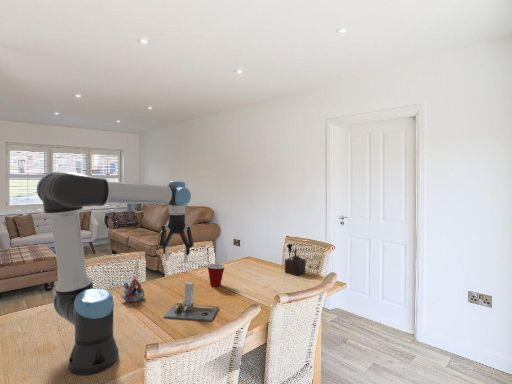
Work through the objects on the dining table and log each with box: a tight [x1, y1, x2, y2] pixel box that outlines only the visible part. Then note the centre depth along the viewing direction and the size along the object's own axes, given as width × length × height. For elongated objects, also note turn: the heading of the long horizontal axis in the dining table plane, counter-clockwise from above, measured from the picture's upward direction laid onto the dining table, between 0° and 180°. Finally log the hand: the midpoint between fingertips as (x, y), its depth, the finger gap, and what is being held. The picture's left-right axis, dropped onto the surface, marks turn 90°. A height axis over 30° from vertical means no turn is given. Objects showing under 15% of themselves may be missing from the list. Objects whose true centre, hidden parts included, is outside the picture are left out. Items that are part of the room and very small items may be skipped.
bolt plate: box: [163, 303, 220, 322], centre depth 146 cm, size 14×22×1 cm, turn 84°
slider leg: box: [184, 281, 195, 312], centre depth 147 cm, size 9×3×12 cm, turn 174°
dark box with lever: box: [284, 243, 307, 277], centre depth 213 cm, size 16×11×18 cm
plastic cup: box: [206, 263, 226, 288], centre depth 184 cm, size 11×11×12 cm
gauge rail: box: [175, 299, 213, 312], centre depth 147 cm, size 8×18×3 cm, turn 84°
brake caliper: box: [120, 277, 145, 303], centre depth 160 cm, size 11×11×12 cm
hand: (176, 261), depth 149 cm, fingers open, 9 cm apart
